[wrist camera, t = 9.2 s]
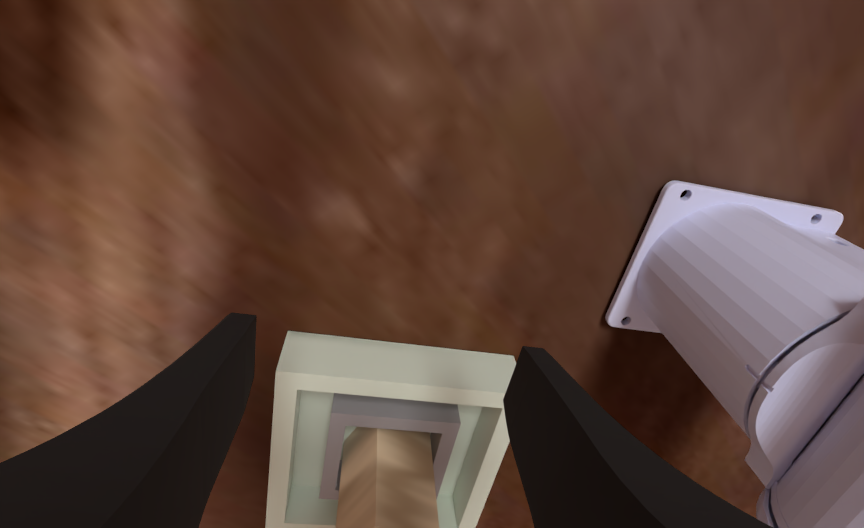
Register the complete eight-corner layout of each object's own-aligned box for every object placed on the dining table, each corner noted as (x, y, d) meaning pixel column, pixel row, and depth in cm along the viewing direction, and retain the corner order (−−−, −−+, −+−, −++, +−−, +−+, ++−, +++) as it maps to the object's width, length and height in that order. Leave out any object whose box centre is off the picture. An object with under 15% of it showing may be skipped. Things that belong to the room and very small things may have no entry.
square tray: (513, 355, 26) (527, 395, 24) (462, 497, 32) (469, 541, 29) (287, 330, 24) (275, 370, 22) (275, 486, 30) (265, 533, 27)
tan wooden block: (429, 427, 27) (441, 549, 21) (394, 462, 29) (396, 588, 22) (378, 403, 26) (375, 525, 20) (343, 441, 27) (331, 568, 21)
